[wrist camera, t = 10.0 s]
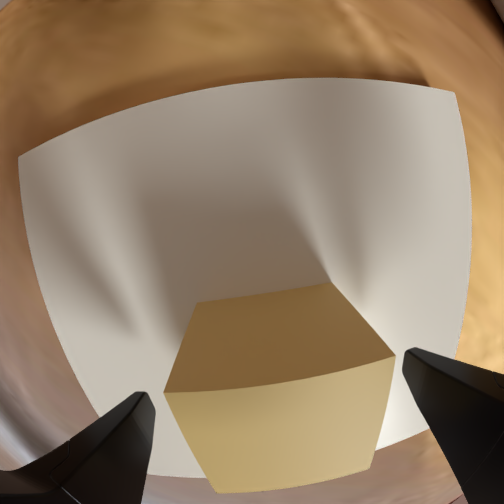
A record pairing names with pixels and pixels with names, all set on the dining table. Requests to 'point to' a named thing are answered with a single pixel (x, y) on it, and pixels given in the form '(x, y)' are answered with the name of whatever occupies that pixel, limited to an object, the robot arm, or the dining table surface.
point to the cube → (280, 389)
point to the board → (250, 227)
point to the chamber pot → (499, 8)
